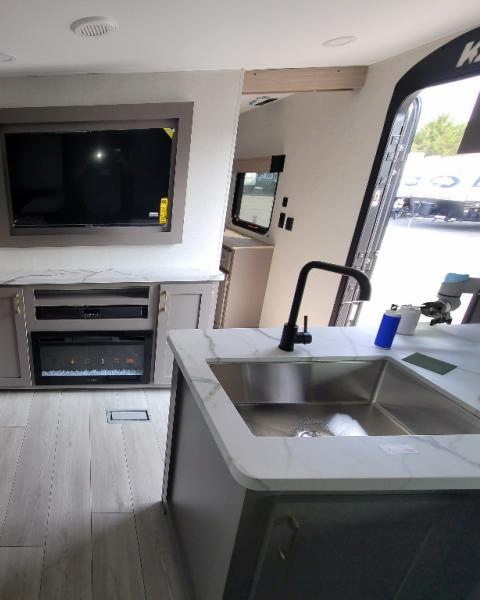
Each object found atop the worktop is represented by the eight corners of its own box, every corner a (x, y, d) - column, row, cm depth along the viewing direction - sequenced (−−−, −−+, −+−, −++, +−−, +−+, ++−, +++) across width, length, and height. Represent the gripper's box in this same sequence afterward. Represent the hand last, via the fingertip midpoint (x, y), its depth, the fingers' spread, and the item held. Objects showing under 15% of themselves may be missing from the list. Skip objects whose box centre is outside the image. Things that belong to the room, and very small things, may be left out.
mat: (456, 366, 116) (457, 365, 116) (441, 374, 112) (442, 373, 111) (416, 352, 125) (416, 352, 125) (401, 359, 121) (401, 359, 121)
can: (395, 334, 139) (404, 309, 135) (386, 327, 146) (394, 302, 141) (417, 336, 137) (427, 310, 133) (406, 329, 143) (416, 304, 139)
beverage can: (387, 344, 131) (399, 310, 126) (392, 350, 127) (405, 315, 122) (371, 342, 133) (382, 308, 128) (376, 348, 129) (387, 313, 124)
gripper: (470, 325, 139) (447, 336, 131) (397, 306, 160) (373, 314, 152) (477, 309, 136) (453, 319, 128) (402, 292, 158) (378, 299, 150)
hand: (410, 316), depth 140 cm, fingers open, 13 cm apart
